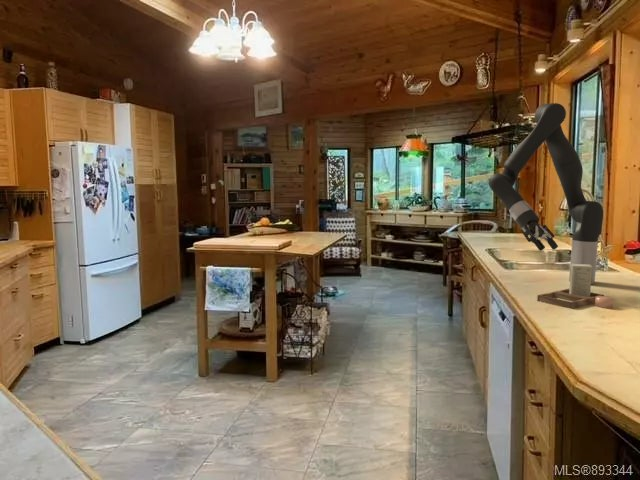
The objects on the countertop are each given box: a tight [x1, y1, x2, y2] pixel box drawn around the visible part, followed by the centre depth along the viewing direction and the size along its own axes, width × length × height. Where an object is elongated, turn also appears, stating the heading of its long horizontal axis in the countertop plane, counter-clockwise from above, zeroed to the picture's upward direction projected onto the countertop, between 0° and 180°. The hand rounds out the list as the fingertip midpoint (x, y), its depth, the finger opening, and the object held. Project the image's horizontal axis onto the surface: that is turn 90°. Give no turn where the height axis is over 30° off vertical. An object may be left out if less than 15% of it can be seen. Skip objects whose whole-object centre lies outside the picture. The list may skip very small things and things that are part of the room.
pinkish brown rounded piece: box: [594, 295, 614, 309], centre depth 164 cm, size 5×5×3 cm
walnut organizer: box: [536, 287, 605, 310], centre depth 171 cm, size 21×12×2 cm, turn 125°
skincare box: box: [568, 264, 592, 298], centre depth 174 cm, size 6×4×12 cm
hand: (549, 248), depth 182 cm, fingers open, 8 cm apart
